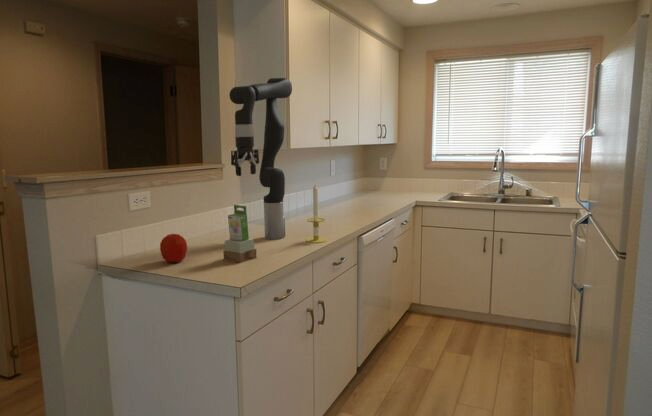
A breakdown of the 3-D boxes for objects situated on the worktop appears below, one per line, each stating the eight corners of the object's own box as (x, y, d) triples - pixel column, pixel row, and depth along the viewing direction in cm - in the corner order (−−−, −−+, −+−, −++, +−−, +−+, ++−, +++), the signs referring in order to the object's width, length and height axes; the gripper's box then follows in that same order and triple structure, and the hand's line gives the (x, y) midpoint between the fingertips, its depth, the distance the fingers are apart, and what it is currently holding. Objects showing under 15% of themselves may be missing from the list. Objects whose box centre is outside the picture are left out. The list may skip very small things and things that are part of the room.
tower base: (240, 255, 189) (239, 246, 188) (256, 258, 184) (256, 248, 183) (223, 260, 181) (223, 250, 181) (240, 263, 176) (240, 253, 176)
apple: (156, 261, 180) (154, 232, 178) (180, 257, 187) (178, 229, 185) (168, 266, 173) (166, 236, 171) (192, 261, 180) (191, 232, 178)
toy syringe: (312, 237, 220) (311, 181, 216) (331, 239, 215) (330, 182, 211) (301, 241, 212) (300, 183, 208) (319, 243, 207) (318, 184, 203)
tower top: (239, 246, 188) (239, 236, 187) (254, 248, 183) (253, 238, 183) (225, 250, 181) (224, 240, 181) (240, 253, 177) (239, 242, 176)
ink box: (229, 239, 182) (226, 206, 179) (236, 237, 185) (234, 204, 183) (241, 241, 178) (239, 207, 175) (249, 239, 181) (246, 205, 179)
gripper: (249, 135, 199) (251, 173, 201) (225, 136, 187) (227, 176, 190) (262, 135, 195) (264, 174, 197) (238, 135, 183) (240, 176, 185)
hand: (246, 175), depth 193 cm, fingers open, 8 cm apart
